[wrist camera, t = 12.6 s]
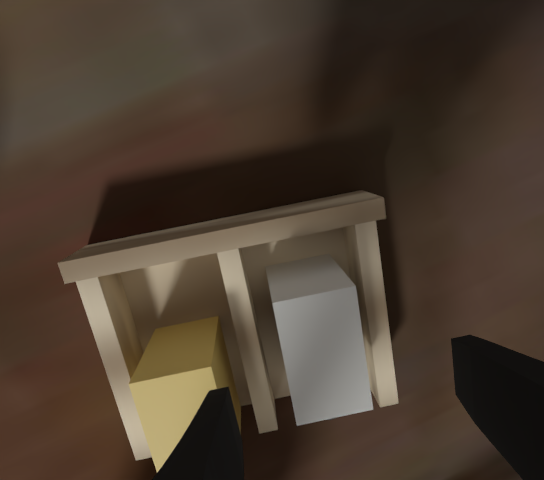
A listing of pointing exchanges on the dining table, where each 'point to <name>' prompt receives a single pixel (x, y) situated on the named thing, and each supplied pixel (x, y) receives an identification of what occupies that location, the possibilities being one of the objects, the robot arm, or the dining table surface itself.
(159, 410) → the mustard plug
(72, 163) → the dining table surface
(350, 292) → the grey plug
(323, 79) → the dining table surface
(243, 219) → the birch comb rack
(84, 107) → the dining table surface
